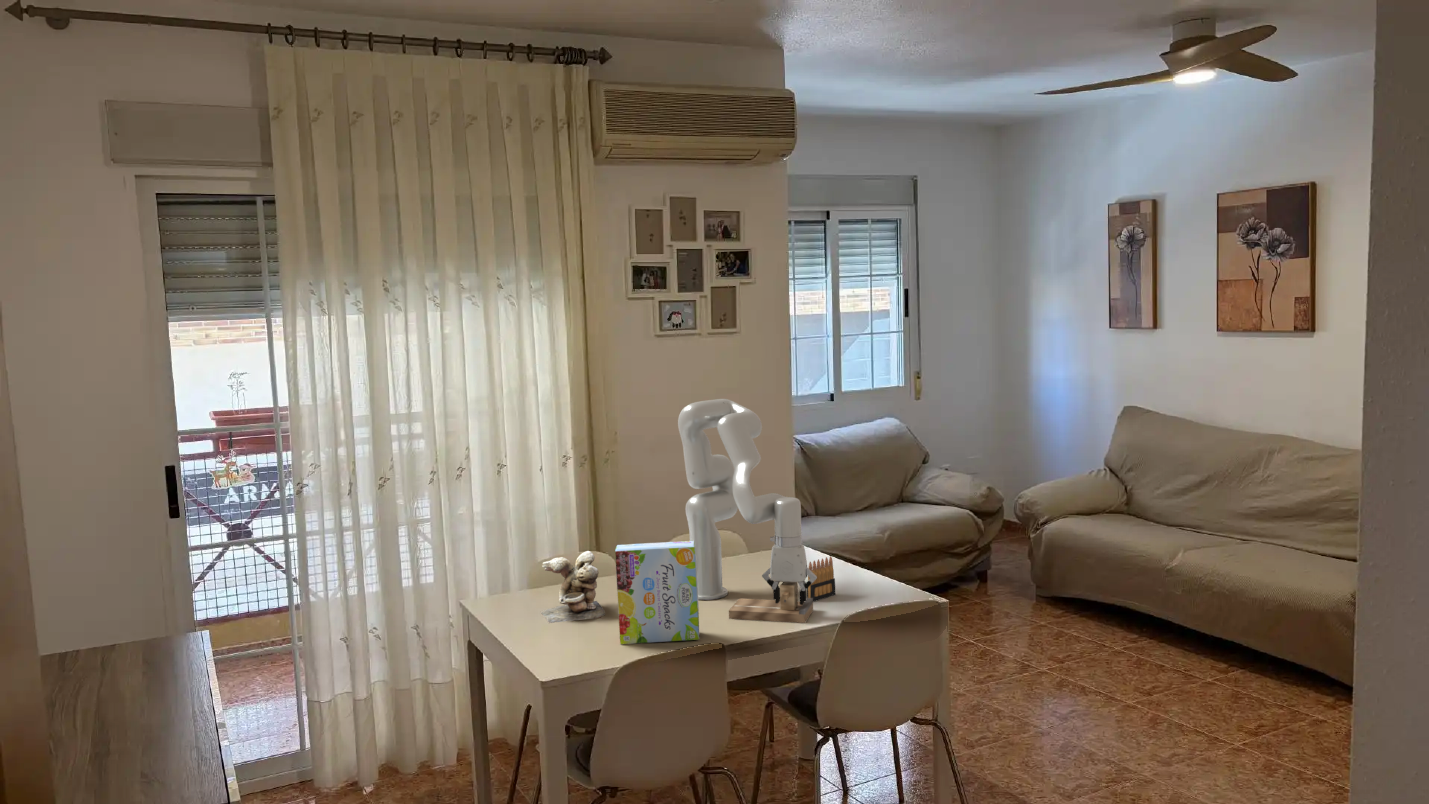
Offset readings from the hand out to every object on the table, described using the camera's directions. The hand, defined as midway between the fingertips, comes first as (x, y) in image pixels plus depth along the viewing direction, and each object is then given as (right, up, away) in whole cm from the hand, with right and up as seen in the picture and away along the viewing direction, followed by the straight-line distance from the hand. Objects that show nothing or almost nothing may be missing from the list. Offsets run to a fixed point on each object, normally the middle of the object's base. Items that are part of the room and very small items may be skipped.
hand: (789, 602), depth 305 cm
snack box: (-36, -7, -16) cm, 40 cm away
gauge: (0, -1, 0) cm, 2 cm away
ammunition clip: (+11, -2, +17) cm, 20 cm away
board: (-5, -4, +2) cm, 7 cm away
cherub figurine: (-63, -5, +10) cm, 64 cm away
